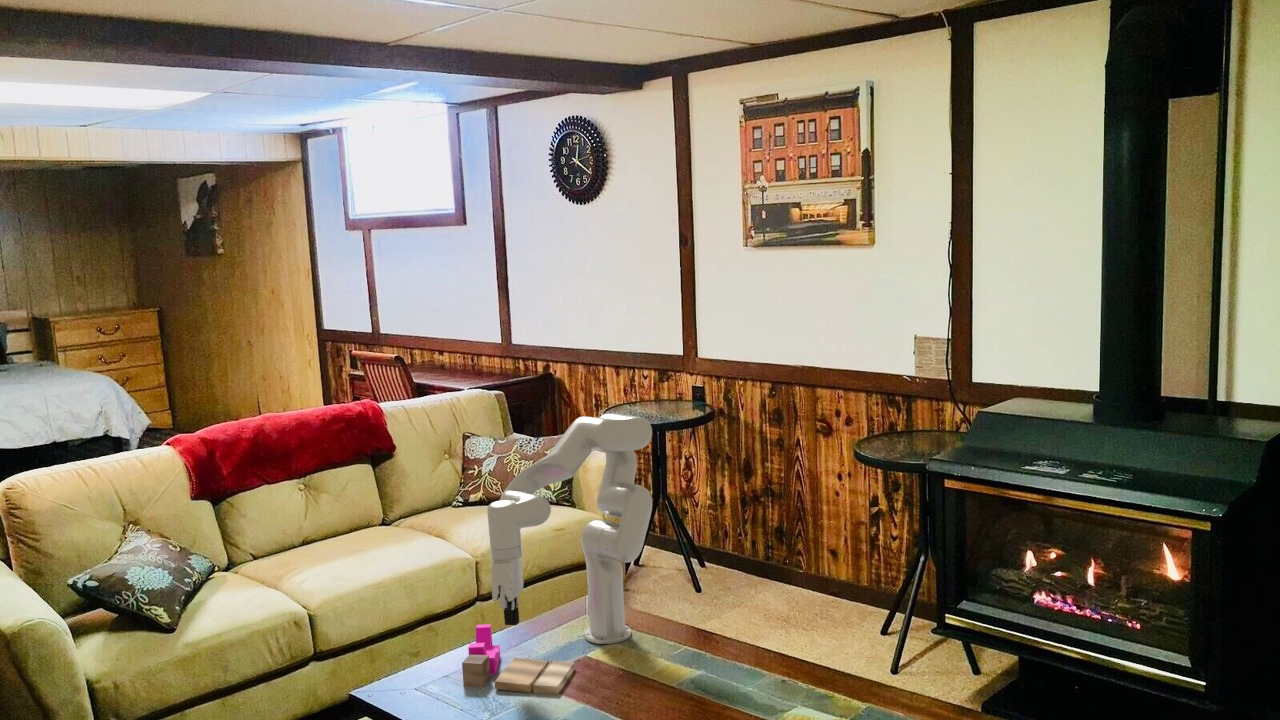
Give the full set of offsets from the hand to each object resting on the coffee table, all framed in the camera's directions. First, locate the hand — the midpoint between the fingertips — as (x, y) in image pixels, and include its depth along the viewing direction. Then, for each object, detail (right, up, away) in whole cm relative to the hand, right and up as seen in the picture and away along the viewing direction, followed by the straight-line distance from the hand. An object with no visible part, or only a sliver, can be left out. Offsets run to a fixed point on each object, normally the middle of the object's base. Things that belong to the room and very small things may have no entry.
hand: (512, 623), depth 251 cm
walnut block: (-9, -15, 0) cm, 17 cm away
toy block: (-8, -13, +12) cm, 20 cm away
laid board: (+11, -14, -1) cm, 17 cm away
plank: (+2, -14, +1) cm, 14 cm away
